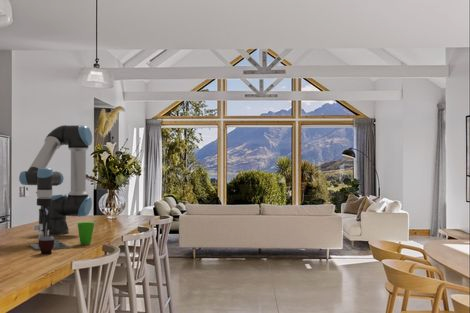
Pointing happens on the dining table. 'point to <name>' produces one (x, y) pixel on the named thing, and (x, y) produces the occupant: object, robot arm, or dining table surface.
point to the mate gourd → (46, 243)
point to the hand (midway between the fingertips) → (43, 242)
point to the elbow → (38, 227)
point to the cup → (85, 232)
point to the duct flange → (56, 246)
